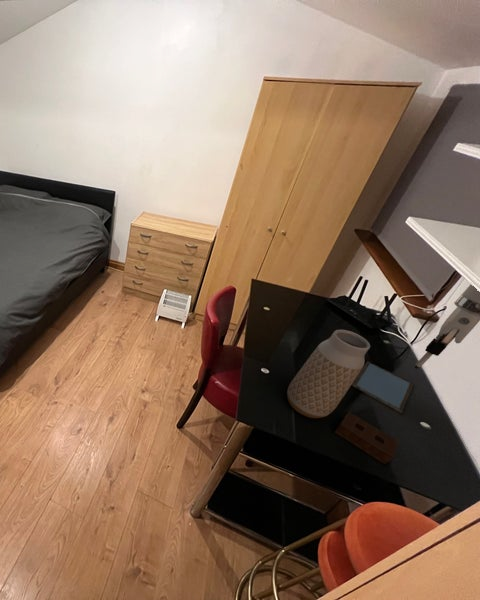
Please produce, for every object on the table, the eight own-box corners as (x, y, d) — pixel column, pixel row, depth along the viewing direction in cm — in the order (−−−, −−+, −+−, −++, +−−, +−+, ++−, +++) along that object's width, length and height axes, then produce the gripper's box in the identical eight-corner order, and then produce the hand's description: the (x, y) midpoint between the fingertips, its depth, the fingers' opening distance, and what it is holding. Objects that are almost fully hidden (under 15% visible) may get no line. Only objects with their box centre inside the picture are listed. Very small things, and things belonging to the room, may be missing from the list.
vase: (336, 420, 108) (392, 352, 91) (303, 426, 105) (355, 357, 88) (304, 388, 119) (349, 322, 102) (273, 393, 116) (314, 326, 99)
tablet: (366, 362, 134) (367, 361, 134) (412, 385, 125) (413, 383, 124) (351, 386, 122) (352, 384, 121) (400, 413, 112) (402, 411, 112)
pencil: (419, 368, 108) (447, 338, 100) (418, 370, 107) (446, 340, 99) (413, 365, 108) (441, 336, 101) (412, 367, 108) (440, 338, 100)
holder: (391, 449, 100) (399, 441, 98) (385, 464, 95) (393, 457, 93) (342, 419, 108) (348, 411, 106) (334, 432, 104) (341, 424, 101)
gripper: (492, 320, 86) (444, 369, 97) (494, 302, 95) (450, 348, 105) (454, 307, 91) (412, 354, 101) (460, 291, 100) (420, 336, 110)
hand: (431, 351), depth 103 cm, fingers closed on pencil, 1 cm apart
